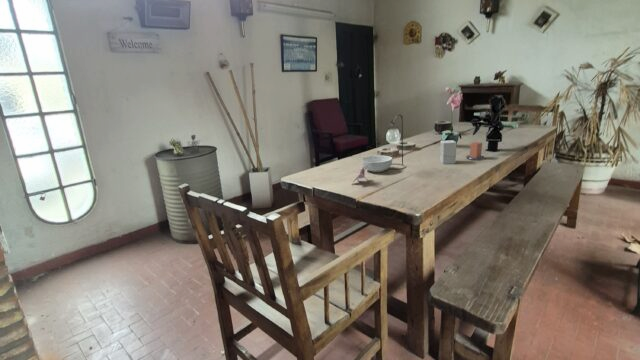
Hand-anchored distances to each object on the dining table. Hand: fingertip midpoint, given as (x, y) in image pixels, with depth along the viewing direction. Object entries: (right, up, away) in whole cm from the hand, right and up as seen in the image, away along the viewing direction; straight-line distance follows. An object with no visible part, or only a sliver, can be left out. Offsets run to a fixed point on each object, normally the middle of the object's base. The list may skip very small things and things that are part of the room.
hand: (479, 135), depth 202 cm
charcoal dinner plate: (-2, -13, +2) cm, 14 cm away
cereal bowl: (-63, -21, -10) cm, 67 cm away
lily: (-75, -28, -30) cm, 85 cm away
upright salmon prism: (-2, -12, +2) cm, 13 cm away
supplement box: (-20, -16, -2) cm, 26 cm away
